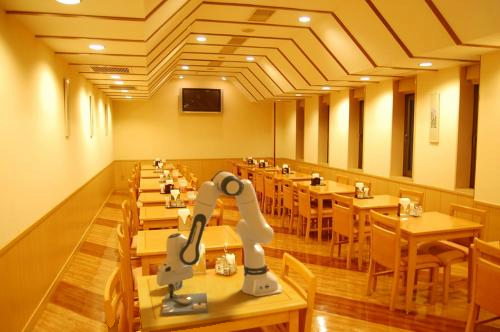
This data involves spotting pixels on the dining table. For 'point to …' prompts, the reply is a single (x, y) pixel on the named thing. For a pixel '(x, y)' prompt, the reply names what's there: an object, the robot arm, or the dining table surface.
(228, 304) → the dining table surface
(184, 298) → the ladle
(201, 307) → the board
